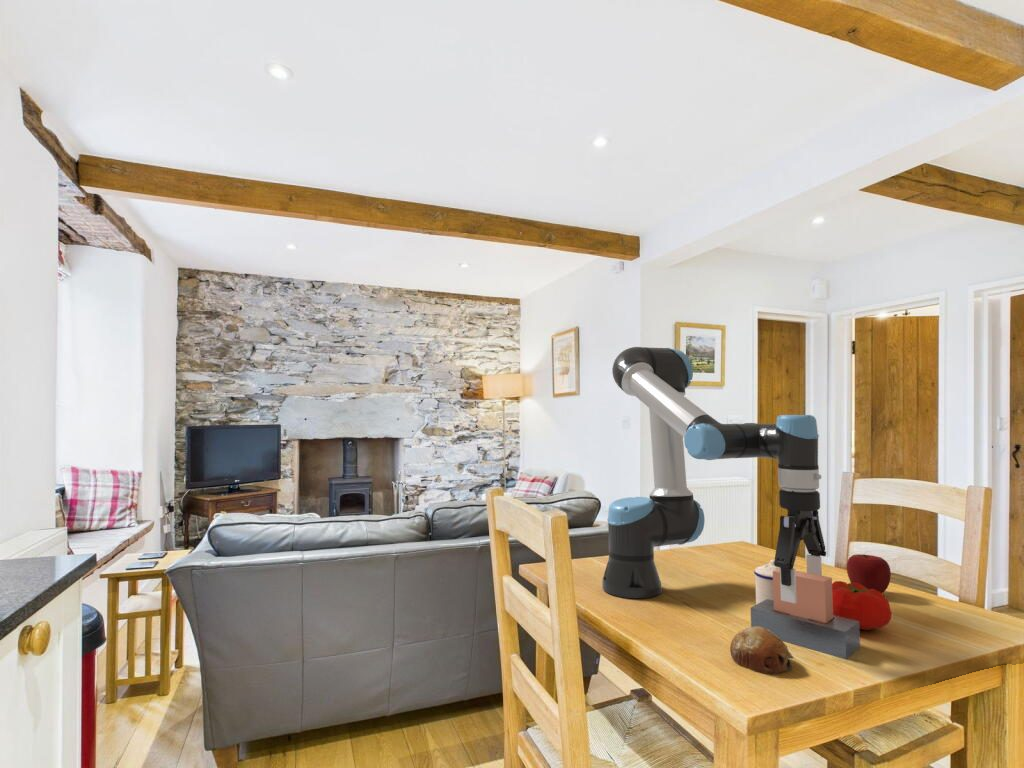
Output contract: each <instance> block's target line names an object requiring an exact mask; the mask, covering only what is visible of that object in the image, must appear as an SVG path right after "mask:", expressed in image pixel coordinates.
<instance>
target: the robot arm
mask: <svg viewBox="0 0 1024 768" xmlns="http://www.w3.org/2000/svg"><path fill="white" fill-rule="evenodd" d="M611 370H612V378H613V380H614V382H615V384H616V385H617V387H618V388H620V389H621V391H623V393H625V394H626V395H628V396H631V397H636V398H637V400H639V401H640V402H641V403H642V404H644V405H645V406H646V407H647V408H648V409H649V424H650V425H649V426H650V439H651V455H652V470H653V482H654V483H653V484H654V487H653V490H651V492H650V493H649V496H648V497H645V496H634V497H630V496H629V497H623V498H619V499H616V500H614V501H612V502H611V503H610V505H609V506H608V513H607V523H608V524H607V525H608V526H607V528H608V530H607V531H608V532H607V533H608V560H607V564H606V566H605V571H604V573H603V577H602V580H601V581H602V583H601V585H602V587H601V588H602V590H603V591H604V592H605V593H607V594H609V595H612V596H615V597H618V598H627V599H647V598H648V599H649V598H654V597H657V596H659V595H661V593H662V581H661V579H660V576H659V572H658V569H657V566H656V563H655V557H654V556H655V553H654V552H655V551H654V548H655V547H663V546H672V545H681V546H682V545H684V544H687V543H692V542H694V541H696V540H698V538H699V537H700V536H701V534H702V533H703V531H704V527H705V521H706V520H705V513H704V510H703V508H702V507H701V504H700V503H699V502H698V501H697V500H695V499H694V493H693V492H692V491H691V490H690V489H689V488H688V487H687V486H688V485H687V473H686V472H687V471H686V463H685V462H686V460H685V448H686V450H687V454H688V455H689V456H690V457H692V458H693V459H695V460H705V461H713V460H714V461H715V460H724V459H725V460H727V459H748V458H749V459H750V458H764V459H765V458H766V459H775V460H776V459H777V467H778V468H777V472H778V473H777V478H778V479H777V480H778V487H780V489H779V490H778V502H779V503H778V505H779V507H780V508H782V509H784V510H787V516H786V515H780V516H779V531H778V537H777V542H776V547H775V554H774V555H775V556H774V559H775V560H774V565H775V566H776V567H780V590H781V600H782V601H786V602H791V603H797V598H796V571H797V569H796V568H794V565H795V563H796V558H797V555H798V550H799V547H800V543H801V541H802V540H803V543H804V546H805V548H806V550H807V554H806V573H811V574H816V575H821V576H823V570H822V569H823V568H822V557H826V555H827V550H826V545H825V541H824V537H823V533H822V531H823V530H822V528H821V524H820V523H821V522H820V518H819V516H820V515H819V510H820V508H821V495H820V494H821V493H820V492H819V491H818V490H819V488H820V480H822V475H821V473H819V471H820V470H819V469H820V468H819V438H820V435H819V433H818V431H819V430H818V424H817V418H816V417H815V416H814V415H811V414H780V415H778V416H777V418H776V423H756V422H745V423H721V422H719V421H718V420H717V419H715V418H714V417H712V416H711V415H709V414H708V413H707V412H705V410H703V409H701V408H700V407H699V406H698V405H696V404H695V403H694V402H692V401H691V400H690V399H688V398H687V397H686V389H687V388H688V387H689V386H690V385H691V383H692V382H691V380H693V377H694V369H693V365H692V362H691V360H690V358H689V356H688V355H687V354H685V353H684V352H683V351H682V350H680V349H677V348H676V349H675V348H674V349H673V348H671V347H670V348H669V347H643V346H632V347H629V348H625V349H624V350H623V351H621V352H620V353H619V354H618V355H617V356H616V358H615V359H614V362H613V365H612V369H611Z"/></svg>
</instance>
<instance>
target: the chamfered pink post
mask: <svg viewBox="0 0 1024 768" xmlns="http://www.w3.org/2000/svg"><path fill="white" fill-rule="evenodd" d="M832 583H833V577H831V576H825V575H822V576H821V575H816V574H811V573H807V572H805V571H800V570H796V598H797V603H791V602H786V601H782V600H781V590H780V568H779V569H777V570H774V571H773V599H774V610H775V611H778V612H780V613H784V614H788V615H789V614H791V615H795V616H799V617H803V618H807V619H811V620H814V621H815V622H819V623H823V624H827V623H829V621H830V620H832V619H833V597H832Z"/></svg>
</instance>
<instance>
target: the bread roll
mask: <svg viewBox="0 0 1024 768" xmlns="http://www.w3.org/2000/svg"><path fill="white" fill-rule="evenodd" d="M729 651H730V653H729V654H730V655H731V658H732V660H733V661H734V663H736V664H737V665H738V666H739V667H742V668H744V669H747V670H751V671H754V672H756V673H760V674H762V673H763V674H770V675H773V674H774V675H775V674H782V673H783V672H786V671H788V670H789V669H792V667H793V666H792V664H791V660H793V659H795V658H794V656H793V655H792V653H791V652H790V651H789V649H788V646H787V645H786V644H785V642H784V641H782V640H781V639H780V638H779V637H777V636H776V635H775V634H774V633H773V632H771V631H770V630H768V629H765V628H763V627H758V626H756V627H751V626H749V627H747V628H743V629H742V630H740V631H738V632H737V633H736V634H735V635H734V636H733V637H732V639H731V642H730V646H729ZM790 659H791V660H790Z"/></svg>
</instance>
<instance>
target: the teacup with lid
mask: <svg viewBox="0 0 1024 768" xmlns="http://www.w3.org/2000/svg"><path fill="white" fill-rule="evenodd" d="M774 560H775V558H773V559H770V560H769V563H766V564H764V565H761V566H756V567H755V569H754V571H753V574H754V576H755V577H754V579H755V581H754V582H755V605H757V604H758V603H760V602H762V601H764V600H766V599H769V600H773V601H774V599H773V571H774V570H777V569H779V568H780V567H776V566H775V565H774Z"/></svg>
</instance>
